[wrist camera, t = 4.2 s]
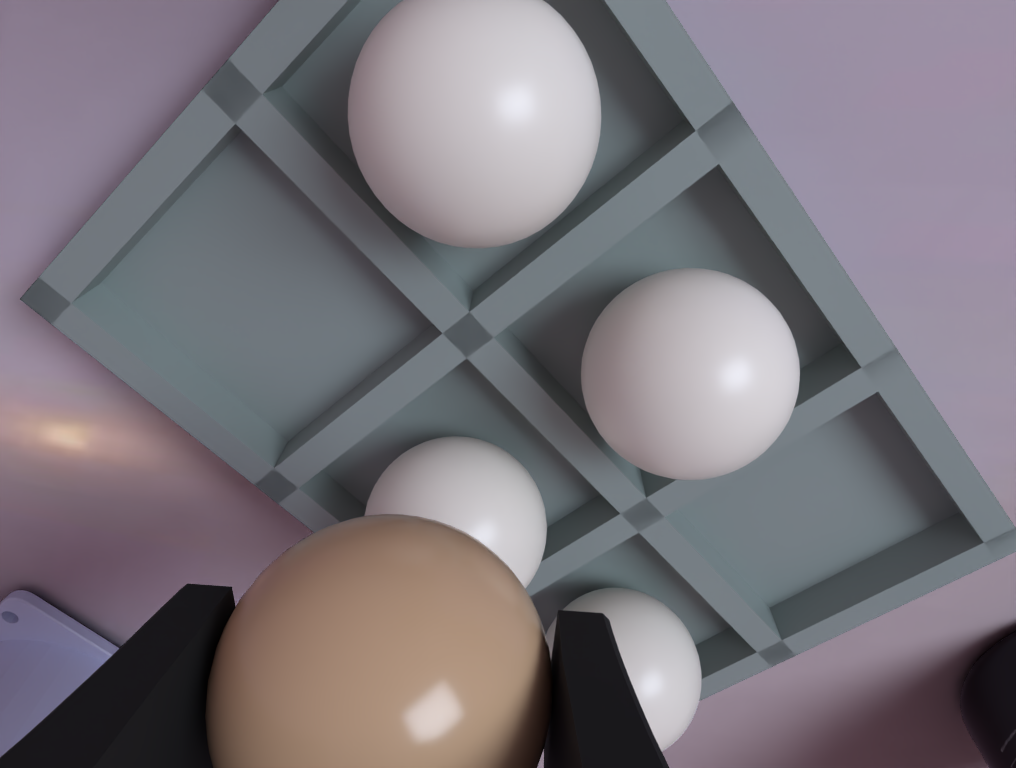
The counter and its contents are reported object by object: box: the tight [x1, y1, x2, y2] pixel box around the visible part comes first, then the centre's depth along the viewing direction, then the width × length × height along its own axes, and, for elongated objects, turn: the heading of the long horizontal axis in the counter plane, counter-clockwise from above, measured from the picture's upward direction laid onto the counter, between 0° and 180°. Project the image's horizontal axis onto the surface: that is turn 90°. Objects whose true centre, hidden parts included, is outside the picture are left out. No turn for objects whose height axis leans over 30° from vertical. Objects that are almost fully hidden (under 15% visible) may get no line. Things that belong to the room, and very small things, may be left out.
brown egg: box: [205, 514, 553, 768], centre depth 9 cm, size 4×4×4 cm
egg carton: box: [20, 0, 1016, 751], centre depth 16 cm, size 14×21×5 cm
